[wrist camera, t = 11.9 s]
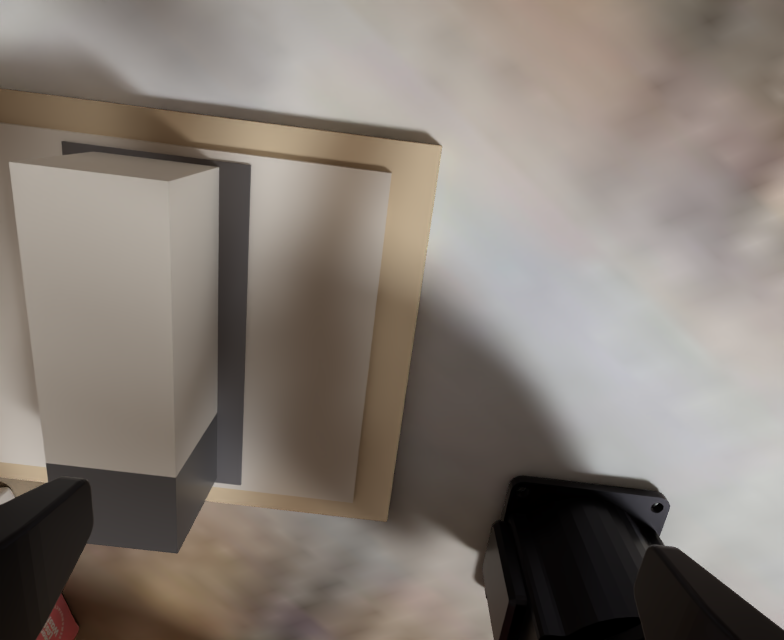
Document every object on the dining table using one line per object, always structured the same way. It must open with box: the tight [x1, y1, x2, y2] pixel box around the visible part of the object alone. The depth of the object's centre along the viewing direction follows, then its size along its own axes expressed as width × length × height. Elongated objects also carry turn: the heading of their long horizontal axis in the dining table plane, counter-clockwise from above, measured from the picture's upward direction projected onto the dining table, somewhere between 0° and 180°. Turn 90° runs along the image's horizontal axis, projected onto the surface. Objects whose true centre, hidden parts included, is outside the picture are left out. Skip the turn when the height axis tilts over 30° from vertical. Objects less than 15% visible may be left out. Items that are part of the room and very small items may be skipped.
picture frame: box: [0, 88, 442, 522], centre depth 20 cm, size 20×15×1 cm
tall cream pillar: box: [9, 152, 219, 553], centre depth 18 cm, size 4×12×4 cm, turn 173°
